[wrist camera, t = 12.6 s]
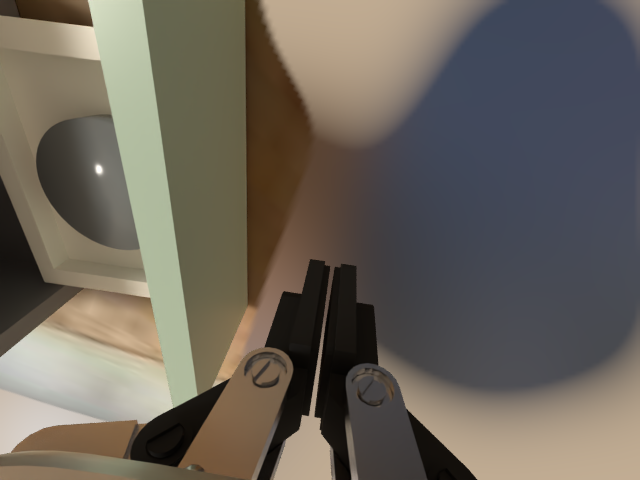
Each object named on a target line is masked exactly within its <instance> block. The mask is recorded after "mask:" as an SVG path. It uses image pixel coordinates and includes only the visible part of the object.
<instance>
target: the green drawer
mask: <svg viewBox="0 0 640 480" xmlns="http://www.w3.org/2000/svg"><path fill="white" fill-rule="evenodd" d="M88 2H89V7H90V12H91V17H92V21H93V26H94V27H89V26H81V25H73V24H65V23H57V22H49V21H41V20H33V19H25V18H17V17H9V16H1V15H0V176H1V178H2V181H3V183H4V185H5V188H6V190H7V193H8V195H9V197H10V200H11V202H12V205H13V207H14V209H15V212H16V214H17V217H18V219H19V222H20V224H21V226H22V229H23V231H24V234H25V236H26V238H27V241H28V243H29V246H30V248H31V251H32V253H33V255H34V258H35V260H36V263H37V265H38V267H39V270H40V272H41V275H42V277H43V279H44V282H47V283H54V284H61V285H67V286H74V287H81V288H88V289H95V290H101V291H108V292H115V293H122V294H128V295H135V296H142V297H149V298H151V303H152V308H153V313H154V318H155V322H156V327H157V332H158V337H159V341H160V346H161V351H162V356H163V361H164V365H165V370H166V375H167V380H168V384H169V389H170V394H171V399H172V404H173V408H175V407H177V406H178V405H180V404H182V403H184V402H186V401H188V400H190V399H192V398H194V397H196V396H198V395H199V394H201V393H203V392H205V391H207V390H209V389H211V388H212V386H213V384H214V381H215V379H216V377H217V375H218V372H219V370H220V368H221V365H222V363H223V361H224V359H225V356H226V354H227V352H228V350H229V347H230V345H231V343H232V340H233V338H234V336H235V334H236V331H237V329H238V327H239V324H240V322H241V320H242V318H243V315H244V313H245V311H246V308H247V306H248V289H247V173H246V56H245V0H88ZM98 114H109V115H112V117H113V122H114V127H115V131H116V136H117V141H118V146H119V150H120V155H121V160H122V165H123V170H124V174H125V179H126V184H127V189H128V193H129V198H130V203H131V208H132V213H133V217H134V222H135V227H136V232H137V236H138V241H139V246H140V249H138V250H120V249H114V248H110V247H107V246H104V245H101V244H99V243H96V242H94V241H92V240H90V239H89V238H87V237H85V236H83V235H82V234H81V233H79V232H78V231H76V230H75V229H74V228H73V227H71V226H70V225H69V224H68V223H67V222H66V221H65V220H64V219H63V218H62V217H61V216H60V215H59V214H58V213H57V211H56V210H55V209H54V207H53V206H52V205H51V203H50V202H49V200H48V198H47V197H46V195H45V193H44V191H43V189H42V187H41V184H40V181H39V178H38V173H37V167H36V153H37V148H38V145H39V142H40V140H41V138H42V137H43V135H44V134H45V132H46V131H47V130H48V129H50V128H51V127H52V126H54V125H55V124H57V123H59V122H62V121H64V120H69V119H74V118H80V117H86V116H92V115H98Z"/></svg>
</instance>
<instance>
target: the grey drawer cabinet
mask: <svg viewBox="0 0 640 480" xmlns="http://www.w3.org/2000/svg"><path fill="white" fill-rule="evenodd" d="M0 15H1V16H9V17H17V18H20V16H19V13H18V9H17V6H16V3H15V0H0ZM82 289H83V288H81V287H74V286H67V285H61V284H54V283H47V282H44V279H43V277H42V275H41V272H40V270H39V267H38V265H37V263H36V260H35V258H34V255H33V253H32V251H31V248H30V246H29V243H28V241H27V238H26V236H25V234H24V231H23V229H22V226H21V224H20V222H19V219H18V217H17V214H16V212H15V209H14V207H13V205H12V202H11V200H10V197H9V195H8V193H7V190H6V188H5V185H4V183H3V181H2V178H1V176H0V357H1V356H2V355H3V354H5V353H6V352H7V351H8V350H9V349H11V348H12V347H13V346H14V345H15V344H17V343H18V342H19V341H20V340H21V339H23V338H24V337H25V336H26V335H28V334H29V333H30V332H31V331H32V330H34V329H35V328H36V327H37V326H38V325H40V324H41V323H42V322H43V321H45V320H46V319H47V318H48V317H49V316H51V315H52V314H53V313H54V312H55V311H57V310H58V309H59V308H60V307H61V306H63V305H64V304H65V303H66V302H68V301H69V300H70V299H71V298H72V297H74V296H75V295H76V294H77V293H78V292H80V291H81V290H82Z"/></svg>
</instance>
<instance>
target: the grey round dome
mask: <svg viewBox="0 0 640 480" xmlns="http://www.w3.org/2000/svg"><path fill="white" fill-rule="evenodd" d="M36 167H37V173H38V178H39V181H40V184H41V187H42V189H43V191H44V193H45V195H46V197H47V198H48V200H49V202H50V203H51V205H52V206H53V207H54V209H55V210H56V211H57V213H58V214H59V215H60V216H61V217H62V218H63V219H64V220H65V221H66V222H67V223H68V224H69V225H70V226H71V227H73V228H74V229H75V230H76V231H78V232H79V233H81V234H82V235H83V236H85V237H87V238H89V239H90V240H92V241H94V242H96V243H99V244H101V245H104V246H107V247H110V248H114V249H120V250H138V249H140V246H139V241H138V236H137V232H136V227H135V222H134V217H133V213H132V208H131V203H130V198H129V193H128V189H127V184H126V179H125V174H124V170H123V165H122V160H121V155H120V150H119V146H118V141H117V136H116V131H115V127H114V122H113V117H112V115H109V114H98V115H92V116H86V117H80V118H74V119H69V120H64V121H62V122H59V123H57V124H55V125H54V126H52V127H51V128H50V129H48V130H47V131H46V132H45V134H44V135H43V137H42V138H41V140H40V142H39V145H38V148H37V153H36Z"/></svg>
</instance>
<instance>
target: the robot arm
mask: <svg viewBox="0 0 640 480" xmlns="http://www.w3.org/2000/svg"><path fill="white" fill-rule="evenodd" d="M329 272H330V266H326V265H325V261H319V260H312V259H311V260H310V262H309V267H308V271H307V275H306V279H305V283H304V287H303V291H302V294H298V293H291V292H285V291H284V292H283V294H282V296H281V299H280V303H279V305H278V308H277V311H276V314H275V317H274V320H273V323H272V326H271V329H270V332H269V335H268V338H267V341H266V344H265V347H264V348H259V349H256V350H253V351H251V352H250V353H249V354H247V355H246V356H245V357H244V358H243V359H242V361H241V362H240V364H239V365H238V367H237V369H236V370H235V372H234V374H233V375H232V377H231V378H230V379H228V380H226V381H224V382H222V383H220V384H218V385H217V386H215V387H213V388H211V389H209V390H207V391H205V392H203V393H201V394H199V395H198V396H196V397H194V398H192V399H190V400H188V401H186V402H184V403H182V404H180V405H178V406H177V407H175V408H173V409H171V410H169V411H167V412H165V413H163V414H161V415H159V416H157V417H156V418H154V419H153V420H152V421H150V422H149V423H147V424H138V422H137V420H131V421H116V422H102V423H88V424H73V425H58V426H52V427H48V428H44V429H41V430H39V431H37V432H35V433H33V434H31V435H29V436H28V437H27V438H25V439H24V440H23V441H22V442H20V443H19V444H18V445H17V446H16V447H15V448H14V449H13V451H12V452H11V453H7V454H1V455H0V480H273V479H274V476H275V473H276V470H277V467H278V464H279V461H280V458H281V455H282V452H283V449H284V447H285V441H286V439H287V438H288V437H290V436H291V435H292V434H294V433H295V432H297V431H298V430H299V427H300V423H301V417H302V415H306V416H309V411H310V405H311V398H312V392H313V385H314V379H315V373H316V366H317V360H318V353H319V346H320V339H321V332H322V324H323V317H324V309H325V301H326V294H327V287H328V279H329ZM315 417H317V418H321V424H320V430H321V434H322V435H323V437H324V438H325V439H326V441H327V442H328V443H329V445H330V460H331V475H332V480H477V479H476V478H475V476H474V475H473V474H472V473H471V472H470V470H469V469H468V468H467V467H466V466H465V465H464V464H463V463H461V462H460V461H459V460H458V459H457V458H456V457H455V456H454V455H453V454H452V453H451V452H450V451H449V450H448V449H447V448H446V447H445V446H444V445H443V444H442V443H441V442H440V441H439V440H438V439H437V438H436V437H435V436H434V435H433V434H432V433H431V432H430V431H429V430H428V429H426V428H425V426H423V424H421V423H420V422H419V421H418V420H417V419H416V418H415V417H414V416H413V415H412V414H411V413H410V412H409V411H408V410H407V409H406V407H405V403H404V401H403V397H402V394H401V390H400V387H399V385H398V383H397V380H396V379H395V378H394V377H393V375H392V374H391V373H390V372H388V371H387V370H386V369H384V368H382V367H380V366H378V355H377V341H376V328H375V316H374V306H373V305H369V304H363V303H356V266H352V265H346V264H341V268H338V267H335V270H334V276H333V282H332V288H331V295H330V300H329V307H328V313H327V319H326V326H325V333H324V341H323V350H322V358H321V367H320V374H319V383H318V391H317V399H316V407H315Z"/></svg>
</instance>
